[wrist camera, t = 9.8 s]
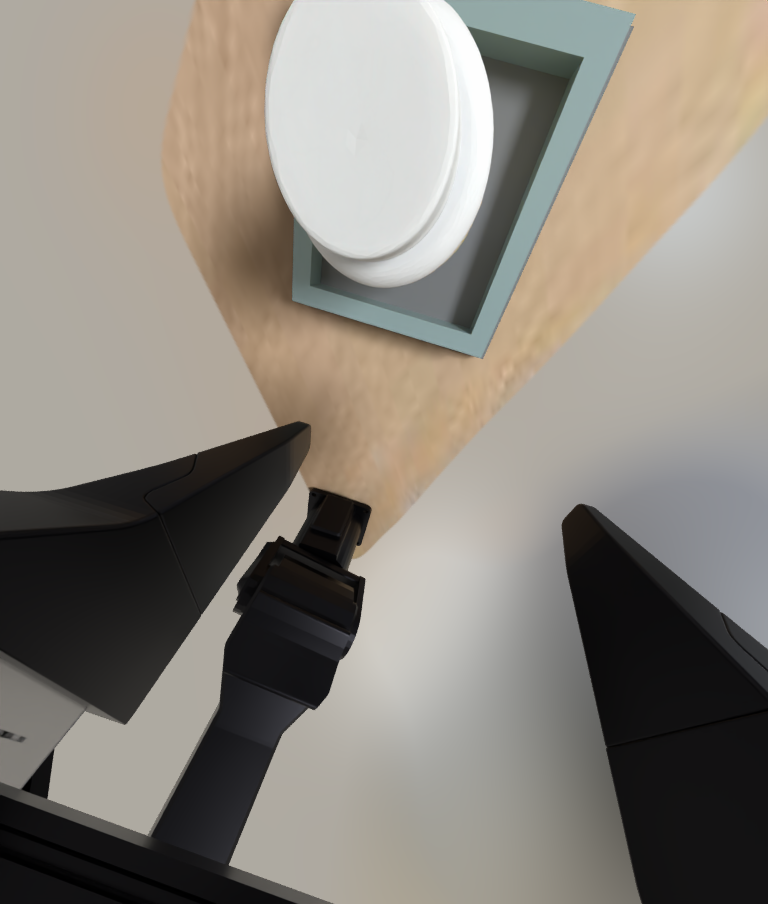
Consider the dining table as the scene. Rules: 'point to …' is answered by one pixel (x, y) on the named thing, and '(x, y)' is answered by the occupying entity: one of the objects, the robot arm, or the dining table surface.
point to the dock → (494, 172)
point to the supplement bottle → (379, 132)
